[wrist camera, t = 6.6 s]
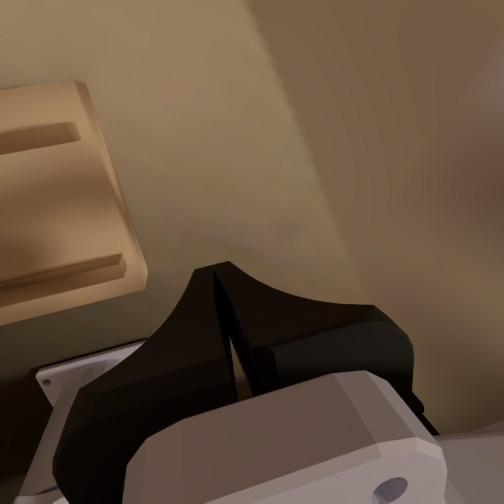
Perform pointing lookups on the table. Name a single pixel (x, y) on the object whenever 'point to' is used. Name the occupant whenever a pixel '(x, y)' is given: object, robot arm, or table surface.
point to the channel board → (60, 206)
